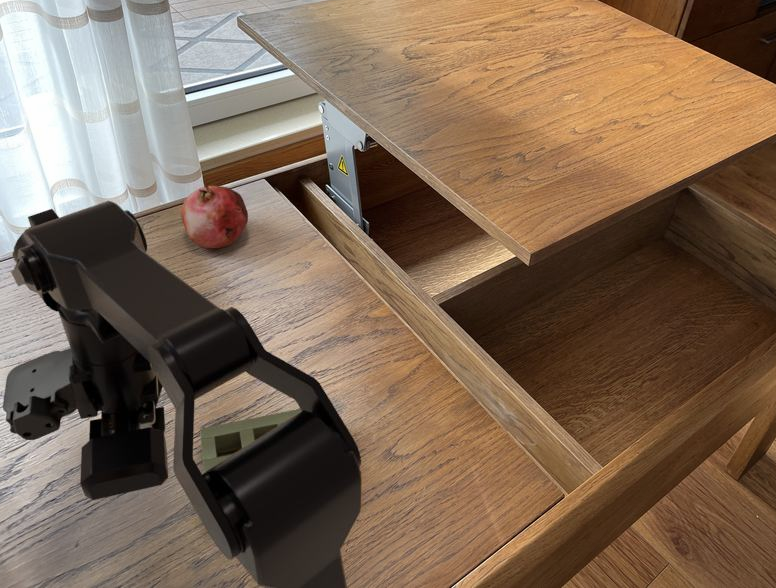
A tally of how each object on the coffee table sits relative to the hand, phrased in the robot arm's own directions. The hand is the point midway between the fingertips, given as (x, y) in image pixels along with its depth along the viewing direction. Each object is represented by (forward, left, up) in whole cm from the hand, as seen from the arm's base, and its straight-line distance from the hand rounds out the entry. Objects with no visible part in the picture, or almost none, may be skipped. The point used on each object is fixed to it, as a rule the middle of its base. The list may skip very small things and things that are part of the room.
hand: (139, 446), depth 68 cm
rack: (0, -12, -9) cm, 15 cm away
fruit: (+40, -10, -10) cm, 42 cm away
